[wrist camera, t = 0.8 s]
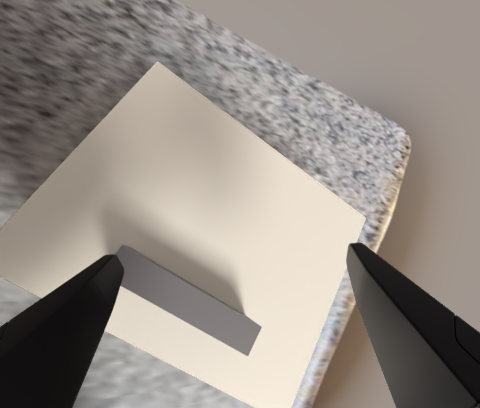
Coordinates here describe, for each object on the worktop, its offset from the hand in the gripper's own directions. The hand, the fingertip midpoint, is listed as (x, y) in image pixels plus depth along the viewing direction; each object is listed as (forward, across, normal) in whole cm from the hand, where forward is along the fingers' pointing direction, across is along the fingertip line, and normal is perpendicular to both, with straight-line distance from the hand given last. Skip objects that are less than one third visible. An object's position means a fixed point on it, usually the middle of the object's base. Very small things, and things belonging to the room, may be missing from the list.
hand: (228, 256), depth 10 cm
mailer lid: (+5, +2, +3) cm, 6 cm away
